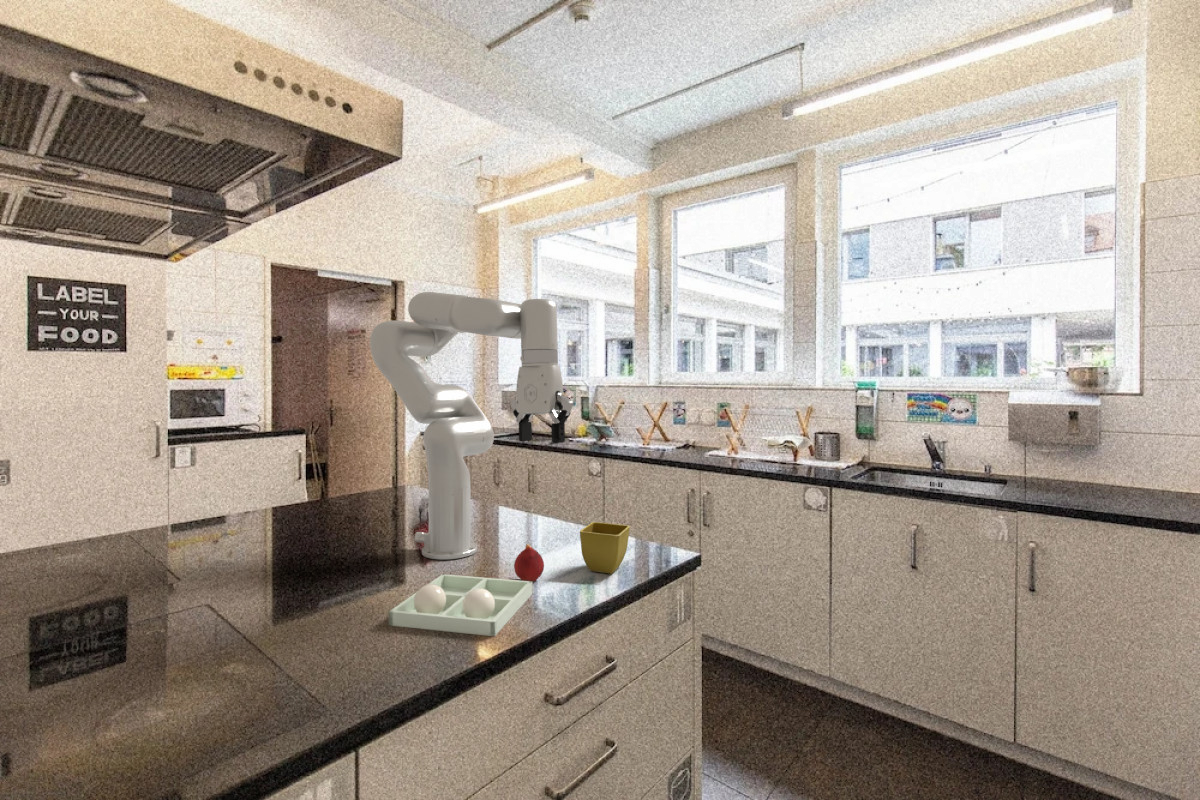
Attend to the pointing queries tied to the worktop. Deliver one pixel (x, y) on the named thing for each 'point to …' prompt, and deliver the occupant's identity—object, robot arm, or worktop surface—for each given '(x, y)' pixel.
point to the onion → (529, 564)
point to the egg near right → (478, 604)
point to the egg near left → (430, 599)
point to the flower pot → (604, 546)
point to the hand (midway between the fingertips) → (541, 441)
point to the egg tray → (452, 616)
